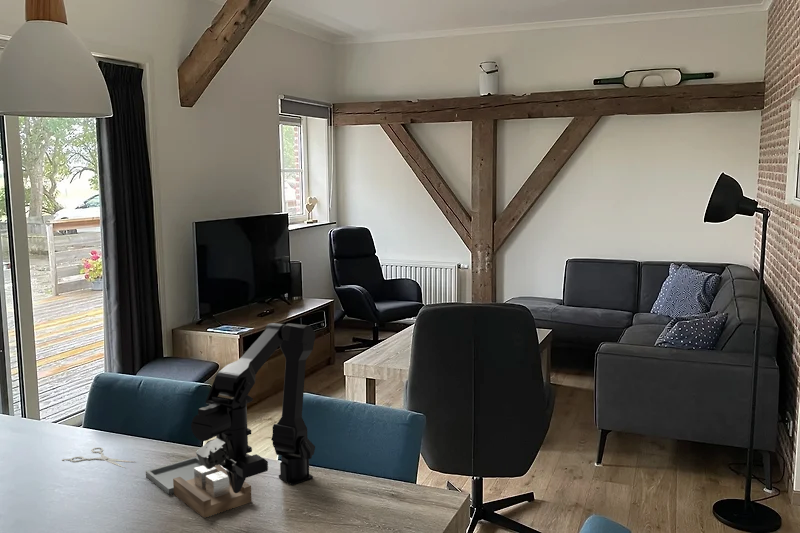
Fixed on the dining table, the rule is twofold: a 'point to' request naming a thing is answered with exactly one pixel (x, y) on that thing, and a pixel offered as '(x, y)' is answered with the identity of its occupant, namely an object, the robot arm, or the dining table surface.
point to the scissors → (99, 458)
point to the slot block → (207, 503)
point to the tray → (173, 473)
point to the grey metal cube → (202, 475)
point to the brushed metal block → (217, 484)
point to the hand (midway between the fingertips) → (236, 492)
